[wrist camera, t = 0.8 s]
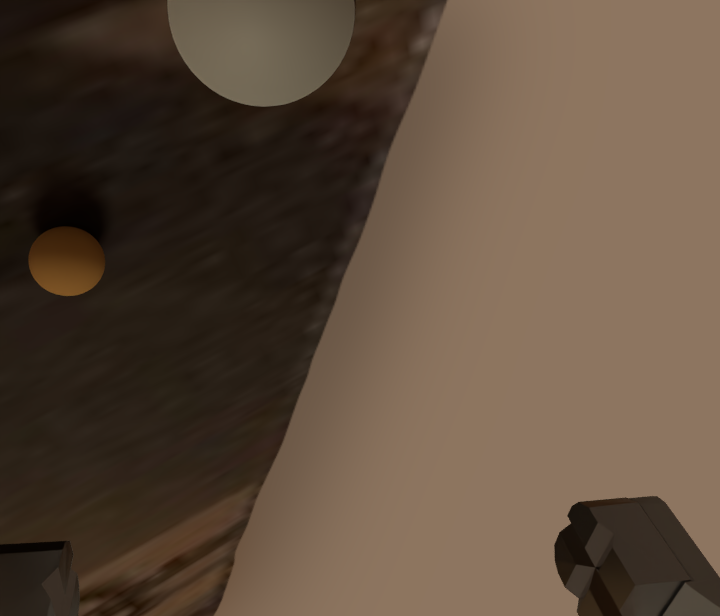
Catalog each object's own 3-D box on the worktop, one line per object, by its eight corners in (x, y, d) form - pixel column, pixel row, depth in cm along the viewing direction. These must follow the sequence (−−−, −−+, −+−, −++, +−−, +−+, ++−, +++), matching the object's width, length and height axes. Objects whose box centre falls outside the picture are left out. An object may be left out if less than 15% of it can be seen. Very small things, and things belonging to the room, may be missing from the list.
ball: (23, 218, 50) (11, 259, 46) (95, 208, 50) (90, 247, 46) (48, 273, 53) (38, 315, 49) (115, 262, 54) (111, 303, 50)
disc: (146, -86, 39) (145, -85, 39) (351, -100, 41) (351, -100, 41) (189, 115, 47) (189, 116, 47) (356, 94, 49) (357, 95, 49)
